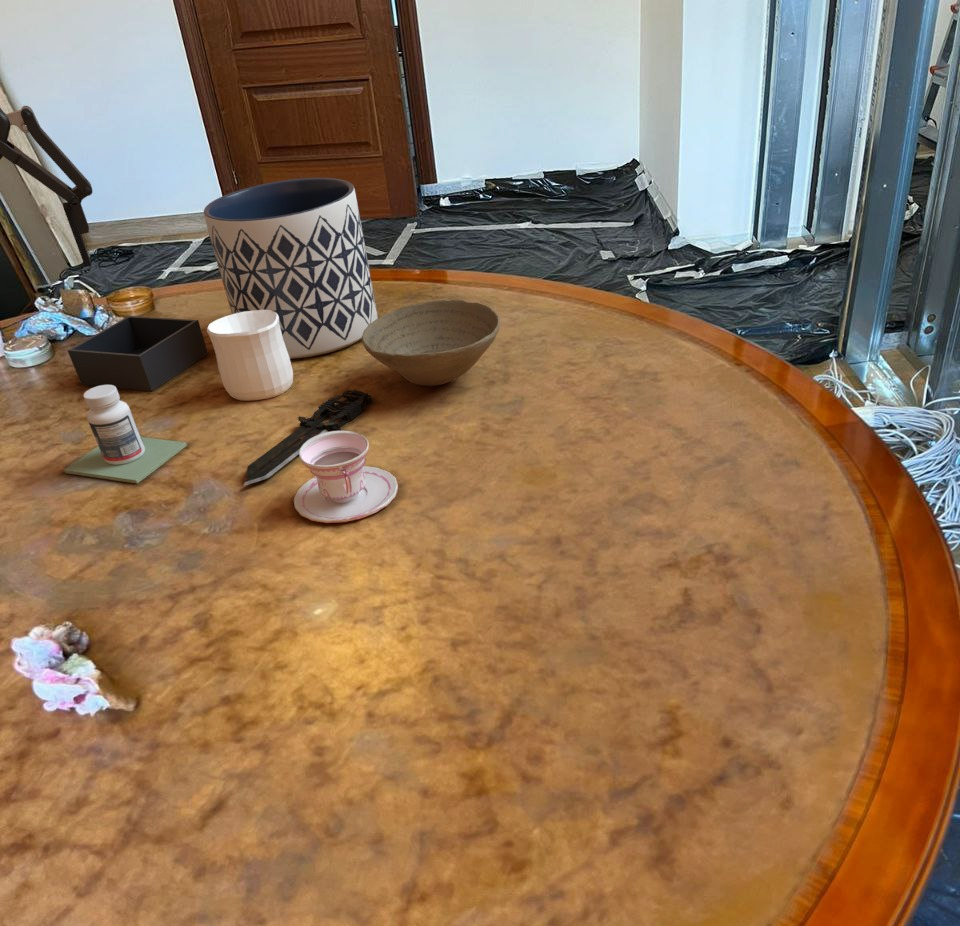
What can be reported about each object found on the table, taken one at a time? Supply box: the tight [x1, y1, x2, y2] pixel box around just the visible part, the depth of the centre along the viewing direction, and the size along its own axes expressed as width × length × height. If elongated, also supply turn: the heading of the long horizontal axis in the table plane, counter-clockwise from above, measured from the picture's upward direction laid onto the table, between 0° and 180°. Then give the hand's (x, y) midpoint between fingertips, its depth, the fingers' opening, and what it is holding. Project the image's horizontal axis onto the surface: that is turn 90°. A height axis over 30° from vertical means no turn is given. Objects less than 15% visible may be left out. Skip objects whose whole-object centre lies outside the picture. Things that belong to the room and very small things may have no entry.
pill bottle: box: [83, 385, 145, 465], centre depth 111 cm, size 5×5×9 cm
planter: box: [203, 177, 379, 360], centre depth 136 cm, size 22×22×20 cm
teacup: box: [293, 430, 399, 524], centre depth 99 cm, size 12×12×6 cm
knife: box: [242, 389, 373, 487], centre depth 113 cm, size 25×6×1 cm, turn 147°
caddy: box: [67, 315, 209, 392], centre depth 137 cm, size 14×14×5 cm
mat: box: [63, 436, 188, 484], centre depth 114 cm, size 12×10×1 cm
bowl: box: [361, 299, 501, 387], centre depth 121 cm, size 18×18×8 cm
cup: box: [206, 310, 294, 402], centre depth 125 cm, size 10×10×10 cm
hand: (29, 275), depth 105 cm, fingers open, 13 cm apart
